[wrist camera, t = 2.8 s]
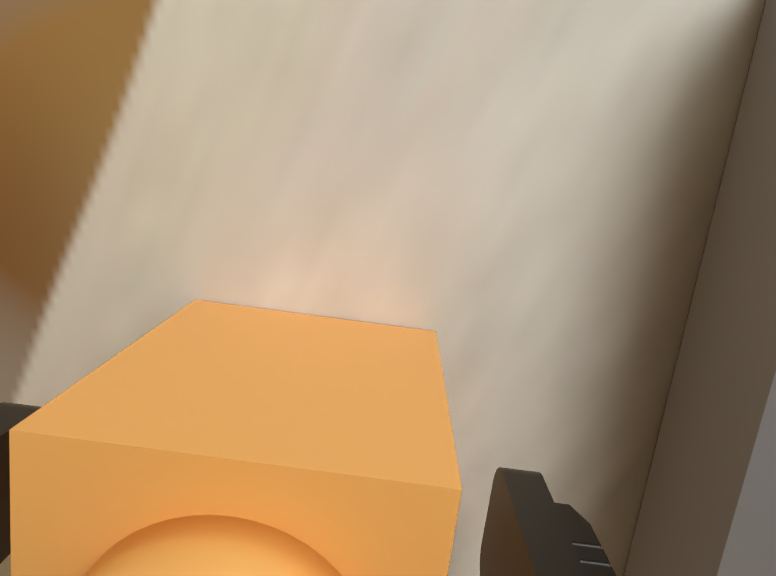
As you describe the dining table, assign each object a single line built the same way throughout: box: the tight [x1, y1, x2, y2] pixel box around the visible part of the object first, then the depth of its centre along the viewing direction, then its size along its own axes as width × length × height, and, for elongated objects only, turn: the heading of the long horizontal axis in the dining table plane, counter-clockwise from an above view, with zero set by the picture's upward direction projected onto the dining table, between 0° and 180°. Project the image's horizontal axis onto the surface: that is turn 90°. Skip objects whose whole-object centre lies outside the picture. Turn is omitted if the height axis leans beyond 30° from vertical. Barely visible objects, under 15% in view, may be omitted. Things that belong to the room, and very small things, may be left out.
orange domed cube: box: [9, 300, 462, 576], centre depth 10 cm, size 5×5×7 cm
